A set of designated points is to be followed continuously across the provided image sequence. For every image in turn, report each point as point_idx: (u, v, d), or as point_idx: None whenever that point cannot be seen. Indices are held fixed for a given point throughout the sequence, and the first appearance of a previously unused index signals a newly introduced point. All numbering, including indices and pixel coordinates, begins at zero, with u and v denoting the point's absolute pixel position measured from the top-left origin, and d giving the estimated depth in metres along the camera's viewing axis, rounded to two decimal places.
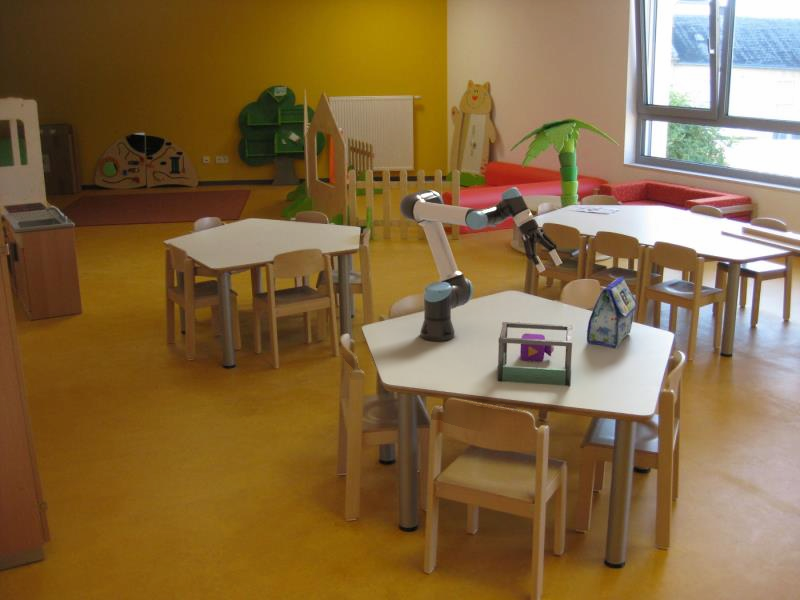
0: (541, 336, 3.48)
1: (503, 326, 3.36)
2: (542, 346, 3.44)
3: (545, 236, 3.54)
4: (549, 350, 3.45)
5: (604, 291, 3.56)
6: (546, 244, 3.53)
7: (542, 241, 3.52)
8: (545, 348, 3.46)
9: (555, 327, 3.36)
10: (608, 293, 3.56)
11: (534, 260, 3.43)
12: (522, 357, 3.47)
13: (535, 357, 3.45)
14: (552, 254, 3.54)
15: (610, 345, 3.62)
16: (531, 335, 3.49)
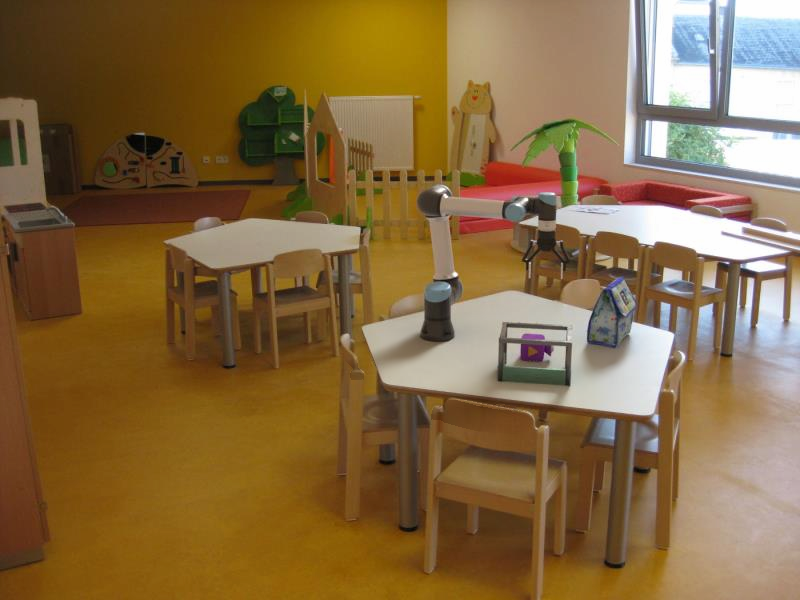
0: (541, 336, 3.48)
1: (503, 326, 3.36)
2: (542, 346, 3.44)
3: (561, 249, 3.61)
4: (549, 350, 3.45)
5: (604, 291, 3.56)
6: None
7: (554, 252, 3.63)
8: (545, 348, 3.46)
9: (555, 327, 3.36)
10: (608, 293, 3.56)
11: (526, 265, 3.67)
12: (522, 357, 3.47)
13: (535, 357, 3.45)
14: None
15: (610, 345, 3.62)
16: (531, 335, 3.49)
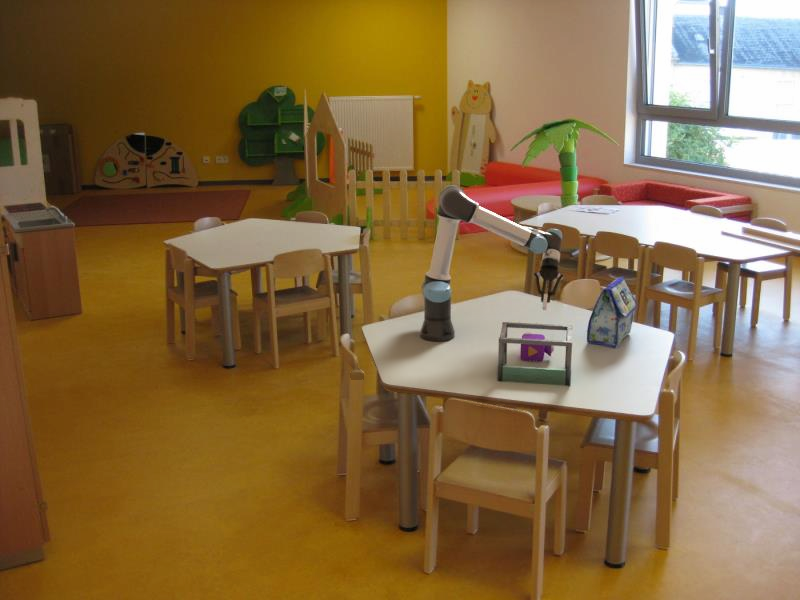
0: (541, 336, 3.48)
1: (503, 326, 3.36)
2: (542, 346, 3.44)
3: None
4: (549, 350, 3.45)
5: (604, 291, 3.56)
6: None
7: (549, 281, 3.72)
8: (545, 348, 3.46)
9: (555, 327, 3.36)
10: (608, 293, 3.56)
11: (541, 297, 3.70)
12: (522, 357, 3.47)
13: (535, 357, 3.45)
14: None
15: (610, 345, 3.62)
16: (531, 335, 3.49)
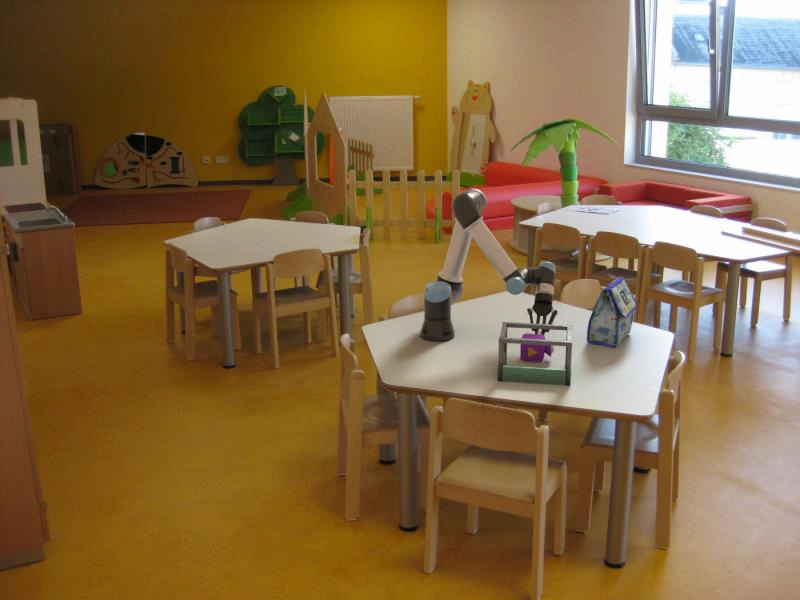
0: (541, 336, 3.47)
1: (503, 326, 3.36)
2: (542, 347, 3.43)
3: None
4: (549, 351, 3.44)
5: (604, 291, 3.56)
6: (542, 322, 3.57)
7: (543, 317, 3.58)
8: (545, 348, 3.46)
9: (555, 327, 3.36)
10: (608, 293, 3.56)
11: None
12: (522, 357, 3.46)
13: (534, 357, 3.45)
14: None
15: (610, 345, 3.62)
16: (531, 335, 3.48)
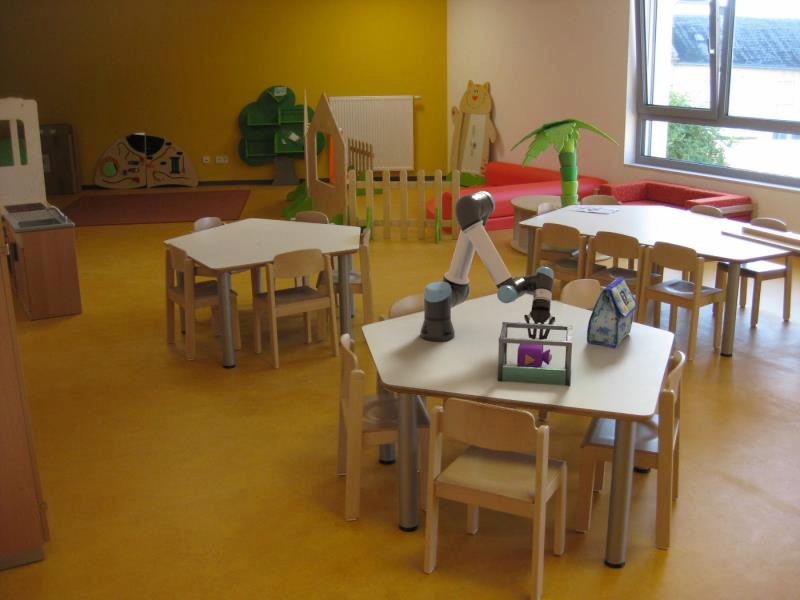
0: None
1: (503, 326, 3.36)
2: (539, 354, 3.34)
3: None
4: (546, 359, 3.36)
5: (604, 291, 3.56)
6: None
7: None
8: (543, 356, 3.37)
9: (555, 327, 3.36)
10: (608, 293, 3.56)
11: None
12: (519, 365, 3.38)
13: (531, 365, 3.36)
14: None
15: (610, 345, 3.62)
16: None
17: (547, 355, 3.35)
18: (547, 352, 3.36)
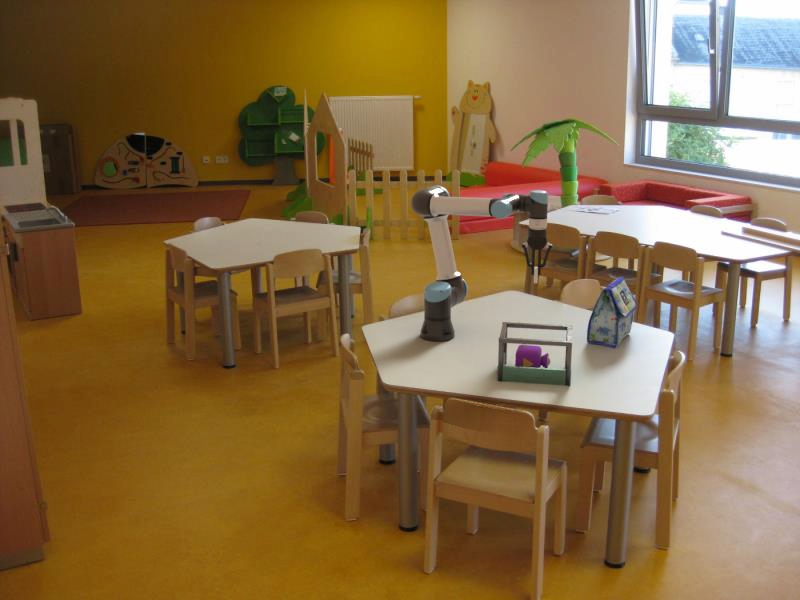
0: (537, 348, 3.35)
1: (503, 326, 3.36)
2: (537, 358, 3.30)
3: (546, 251, 3.57)
4: (545, 363, 3.32)
5: (604, 291, 3.57)
6: (538, 257, 3.59)
7: (538, 252, 3.59)
8: (541, 360, 3.33)
9: (555, 327, 3.36)
10: (608, 293, 3.56)
11: None
12: None
13: None
14: None
15: (610, 345, 3.62)
16: (527, 347, 3.36)
17: (545, 359, 3.32)
18: (545, 356, 3.32)
